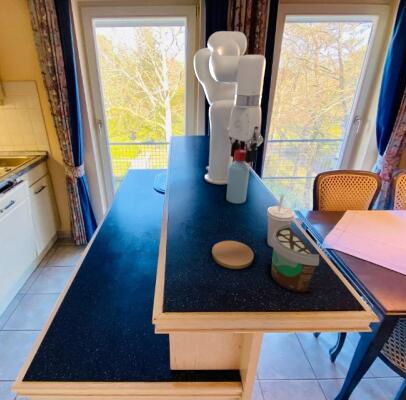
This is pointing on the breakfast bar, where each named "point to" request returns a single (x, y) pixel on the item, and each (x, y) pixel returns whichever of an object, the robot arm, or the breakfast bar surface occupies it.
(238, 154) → the cap
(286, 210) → the smoothie
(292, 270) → the food container
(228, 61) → the robot arm
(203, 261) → the breakfast bar surface
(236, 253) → the coaster
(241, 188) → the bottle
